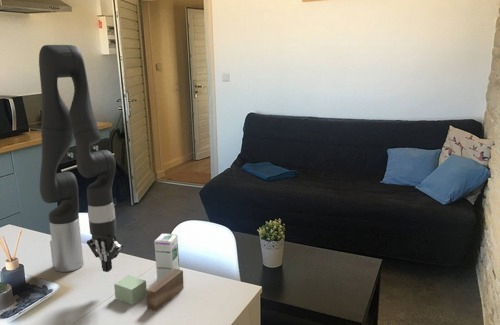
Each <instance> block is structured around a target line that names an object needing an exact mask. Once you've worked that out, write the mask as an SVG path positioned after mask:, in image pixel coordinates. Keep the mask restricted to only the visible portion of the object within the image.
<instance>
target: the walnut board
mask: <svg viewBox="0 0 500 325" xmlns="http://www.w3.org/2000/svg"><path fill="white" fill-rule="evenodd" d="M179 269H180V268H179ZM179 269H174V270H172V271H171V272H170V273H168V274H167V275H166V276H164V277H163V278H161V279H160V280H159V281H157V280H156V282H155V283H153V284H152V285H151V286H149V287H148V288H146V289H147V290H146V296H145V297H146V308H147V310H151V311H153V312H156V311H158V310H159V309H160V308H162V307H163V306H164V305H165V304H166V303H168V301H170V300H171V299H172V298H173V297H175V296H176V295H177V294H178V293H180V291H182V290H183V289H184V288H185V286H184V270H183V269H180V270H179Z"/></svg>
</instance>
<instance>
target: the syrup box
mask: <svg viewBox="0 0 500 325" xmlns="http://www.w3.org/2000/svg"><path fill="white" fill-rule="evenodd" d="M178 241H179V240H178V234H174V233H160V235H159V236H158V237H157V238H156V239H155V240H154V241H153V242H154V253H155V255H154V256H155V268H156V269H155V270H156V282H157V281H159V280H160V279H161V278H163V277H164V276H166V275H167V274H168V273H170V272H171V271H172V270H174V269H179V270H181V268H180V255H179V242H178Z"/></svg>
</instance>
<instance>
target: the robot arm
mask: <svg viewBox="0 0 500 325" xmlns="http://www.w3.org/2000/svg"><path fill="white" fill-rule="evenodd" d="M38 54H39V55H38V68H39V79H40V81H39V82H40V89H41V125H40V126H41V127H40V128H41V131H40V132H41V164H40V173H39V193H40V194H39V195H40V197H41V200H42V201H43V202H44V203H46V204H54V203H59V202H60V204H59V205H58V206H57V207H55V208H54V209H52V210H50V212H49V214H48V222H49V231H50V238H51V240H50V241H49V244H50V245H49V246H50V253H51V261H52V262H51V263H52V267H53V268H54V269H55V270H56V272H61V273H67V272H73V271H76V270H78V269H81V267H83V266H84V255H83V245H82V243H83V242H82V236H81V235H82V234H81V223H80V216H79V215H80V214H79V213H80V203H79V202H80V200H79V185H78V180H77V177H76V175H75V174H74V173H73V172H71V171H64V172H57V170H58V166H59V164H60V163H61V161H62V159H63V157H65V155H66V153H67V152H68V150H70V147H71V146H72V143H73V142H74V141H75V150H76V152H75V153H76V168H77V172H78V173H79V174H80V175H81V176H82V177H84V178H86V179H89V178H90V179H91V178H95V177H97V179H96V180H95V181H94V182H92V183H90V184H89V185H88V186H87V187H86V198H87V215H88V216H87V217H88V224H89V233H90V235H91V238H90V239H88V240H87V241H86V244H87V246H88V247H89V249H90V250H91V252H92V254H93V255H94V257H95V258H99V260H100V263H101V268H102V272H104V273H109V272H110V271H112V269H113V264H112V260H114V259H116V258H117V256H118V255H119V254H120V252H121V251H122V249H123V248H124V244H123V243H120V244H119V242H118V241H117V237H116V233H117V232H116V231H117V223H116V222H117V221H116V220H117V219H116V211H115V210H116V209H115V204H114V199H113V185H114V179H115V178H114V177H115V173H116V166H117V164H116V162H117V161H116V158H115V155H114V154H113V153H112V152H111V151H109V150H108V149H101V150H97V151H91V146H92V145H95V144H97V143H99V142H100V141H101V139H102V136H101V133H100V129H99V126H98V123H97V120H96V118H95V114H94V109H93V105H92V102H91V95H90V88H89V81H88V77H87V76H88V75H87V71H86V66H85V60H84V57H83V55H82V51H81V50H80V49H79V48H78V46H76V45H72V44H45V45H43V46H42V47H41V48H40V49H39V53H38ZM59 78H60V79H61V78H62V79H63V78H71V80H72V83H73V87H74V90H73V96H72V97H73V98H72V101H71V105H70V108H69V107H68V106H67V105H66V102H65V101H64V99H63V98H62V97H61V94H60V92H59V87H58V79H59Z"/></svg>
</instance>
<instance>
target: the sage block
mask: <svg viewBox="0 0 500 325" xmlns="http://www.w3.org/2000/svg"><path fill="white" fill-rule="evenodd" d="M113 287H114V298H115V300H119V301H121V302H124V303H127V304H129V305H132V306H133V305H135V304H136V303H137V302H139V301H140V300H142V299H143V298H144V297H147V296H146V290H147V289H148V288H147V280H146V279H141V278H139V277H136V276H132V275H129V274H128V275H126V276H124V277H123V278H121V279H120V280H118V281H117V282H115V283H113Z"/></svg>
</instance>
